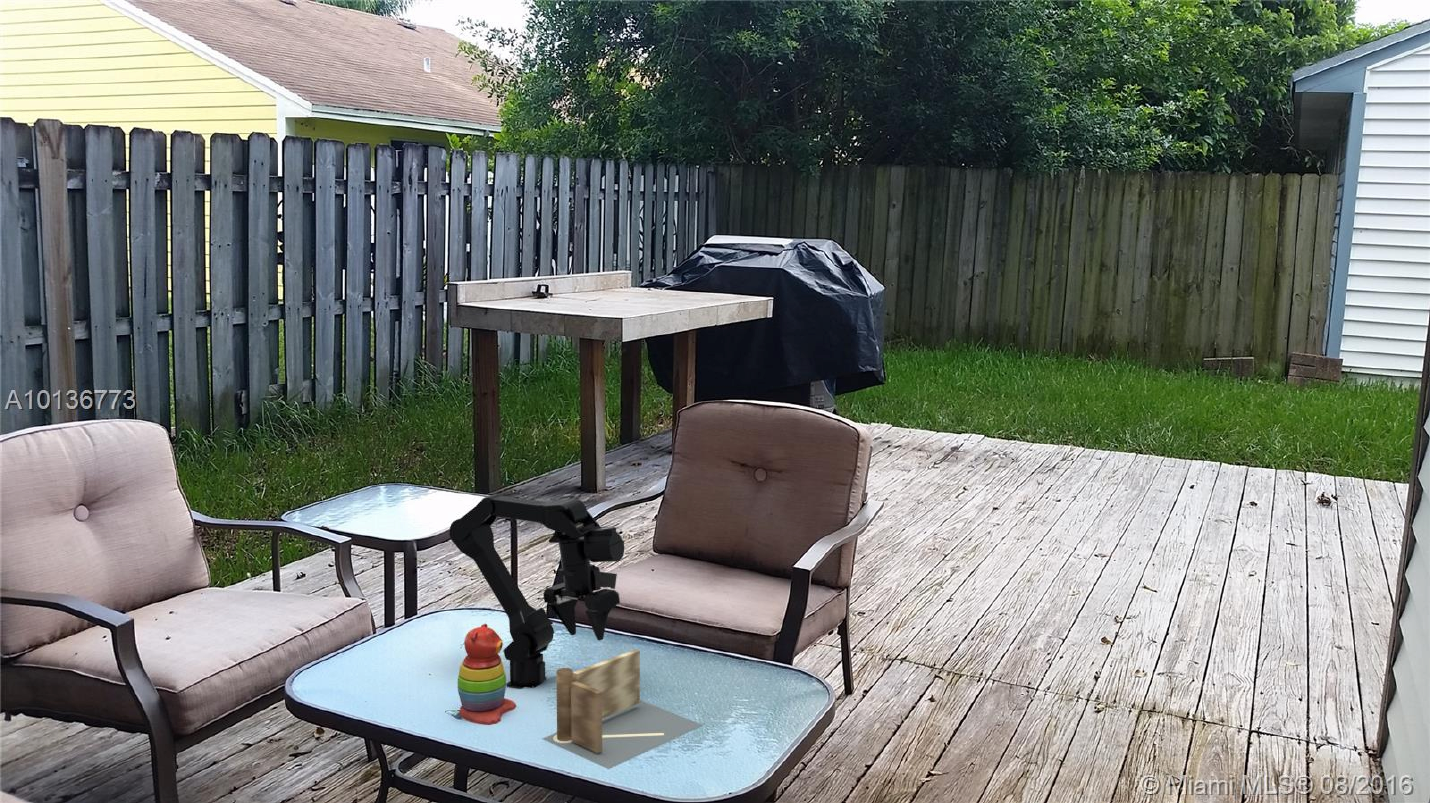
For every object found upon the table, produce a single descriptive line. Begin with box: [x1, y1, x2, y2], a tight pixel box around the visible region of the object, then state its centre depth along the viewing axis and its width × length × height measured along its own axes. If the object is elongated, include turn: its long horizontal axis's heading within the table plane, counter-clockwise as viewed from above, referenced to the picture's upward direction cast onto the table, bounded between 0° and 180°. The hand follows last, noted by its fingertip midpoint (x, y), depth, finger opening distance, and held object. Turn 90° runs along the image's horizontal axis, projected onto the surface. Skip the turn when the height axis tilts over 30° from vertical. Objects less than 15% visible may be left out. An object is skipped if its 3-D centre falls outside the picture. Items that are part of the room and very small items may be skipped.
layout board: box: [542, 700, 704, 770], centre depth 221 cm, size 18×25×1 cm
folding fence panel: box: [573, 649, 641, 718], centre depth 225 cm, size 16×1×11 cm, turn 138°
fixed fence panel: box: [555, 667, 602, 753], centre depth 214 cm, size 11×3×13 cm, turn 48°
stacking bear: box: [457, 623, 517, 726], centre depth 228 cm, size 11×10×18 cm
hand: (586, 637), depth 238 cm, fingers open, 9 cm apart
